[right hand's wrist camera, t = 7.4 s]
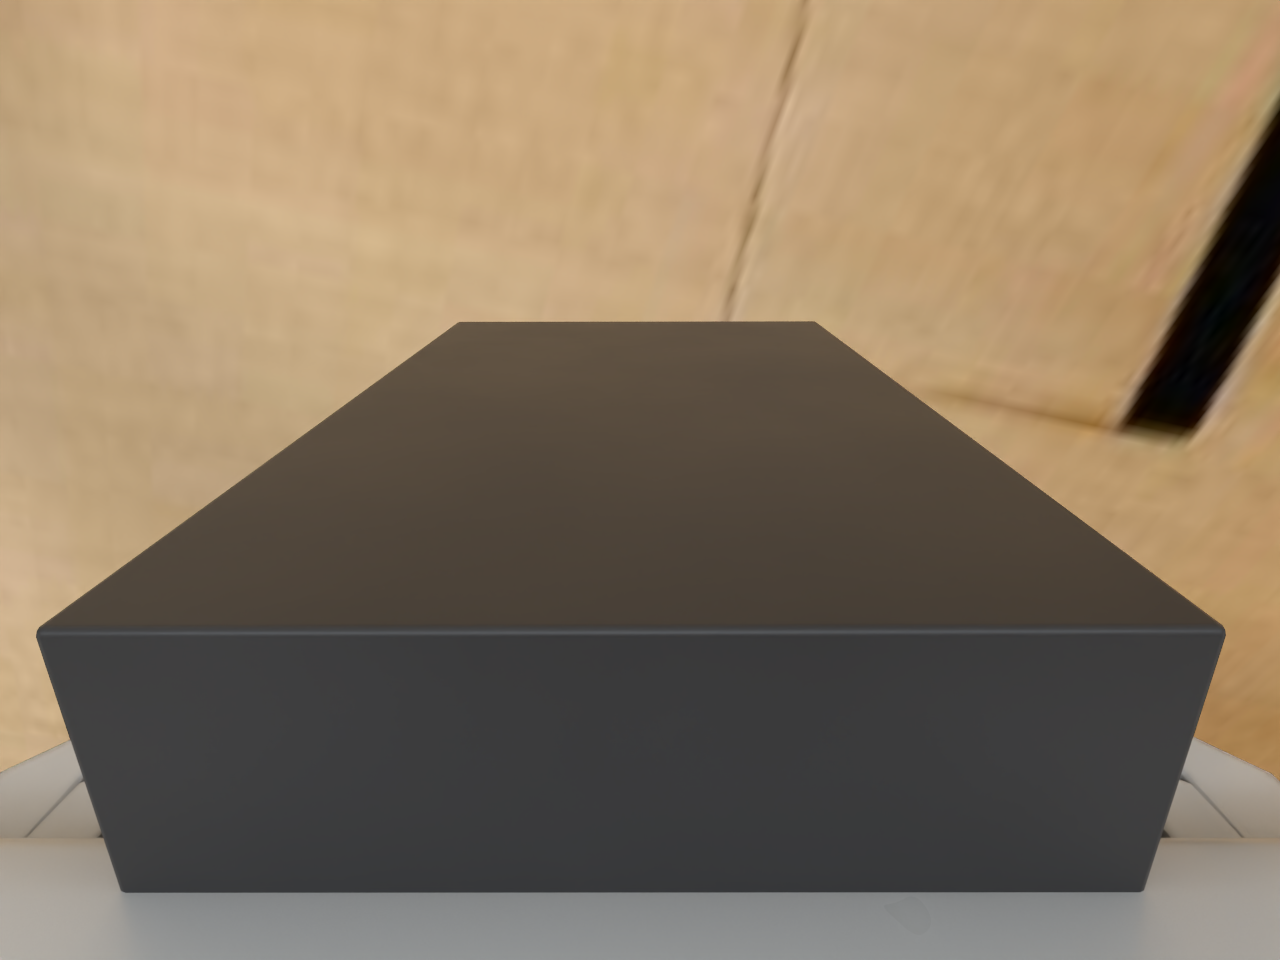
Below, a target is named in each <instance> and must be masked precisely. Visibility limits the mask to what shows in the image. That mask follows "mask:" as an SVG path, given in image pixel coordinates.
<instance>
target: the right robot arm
mask: <svg viewBox="0 0 1280 960" xmlns="http://www.w3.org/2000/svg"><path fill="white" fill-rule="evenodd" d="M0 960H1280V781H1279V780H1278V779H1277V778H1276V777H1275V776H1274V775H1272V774H1271V773H1269V772H1267V771H1265V770H1263V769H1261V768H1259V767H1256V766H1254V765H1252V764H1250V763H1248V762H1246V761H1244V760H1242V759H1239V758H1237V757H1235V756H1233V755H1231V754H1229V753H1227V752H1225V751H1223V750H1220V749H1218V748H1216V747H1214V746H1212V745H1210V744H1208V743H1206V742H1203V741H1201V740H1199V739H1197V738H1195V737H1193V739H1192V742H1191V745H1190V748H1189V751H1188V754H1187V758H1186V761H1185V764H1184V767H1183V770H1182V773H1181V776H1180V779H1179V783H1178V786H1177V789H1176V792H1175V795H1174V798H1173V801H1172V804H1171V808H1170V811H1169V814H1168V817H1167V820H1166V823H1165V826H1164V829H1163V832H1162V836H1161V839H1160V842H1159V845H1158V848H1157V851H1156V854H1155V857H1154V861H1153V864H1152V867H1151V870H1150V873H1149V876H1148V879H1147V882H1146V885H1145V889H1144V891H1141V892H755V893H125V892H122V891H121V890H120V887H119V884H118V881H117V878H116V875H115V872H114V869H113V866H112V863H111V860H110V857H109V854H108V851H107V848H106V845H105V842H104V839H103V836H102V833H101V830H100V827H99V824H98V821H97V818H96V815H95V812H94V809H93V806H92V803H91V800H90V797H89V794H88V791H87V788H86V785H85V782H84V779H83V776H82V773H81V770H80V767H79V764H78V761H77V758H76V755H75V752H74V749H73V746H72V743H71V740H69V741H66V742H64V743H62V744H60V745H58V746H56V747H54V748H51V749H49V750H47V751H45V752H43V753H41V754H39V755H36V756H34V757H32V758H30V759H28V760H26V761H23V762H21V763H19V764H17V765H15V766H13V767H11V768H8V769H6V770H4V771H2V772H0Z"/></svg>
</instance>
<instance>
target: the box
mask: <svg viewBox="0 0 1280 960" xmlns="http://www.w3.org/2000/svg"><path fill="white" fill-rule="evenodd" d="M1225 636H1226V634H1225V629H1224V627H1223V625H1221V624H1220V623H1219V622H1217V621H1216V620H1214V619H1213V618H1212V617H1210V616H1209V615H1208V614H1206V613H1205V612H1204V611H1202V610H1201V609H1200V608H1198V607H1197V606H1196V605H1194V604H1193V603H1192V602H1190V601H1189V600H1188V599H1186V598H1185V597H1184V596H1182V595H1181V594H1180V593H1178V592H1177V591H1176V590H1174V589H1173V588H1172V587H1170V586H1169V585H1168V584H1166V583H1165V582H1164V581H1162V580H1161V579H1160V578H1158V577H1157V576H1155V575H1154V574H1153V573H1151V572H1150V571H1149V570H1147V569H1146V568H1145V567H1143V566H1142V565H1141V564H1139V563H1138V562H1137V561H1135V560H1134V559H1133V558H1131V557H1130V556H1129V555H1127V554H1126V553H1125V552H1123V551H1122V550H1121V549H1119V548H1118V547H1117V546H1115V545H1114V544H1113V543H1111V542H1110V541H1109V540H1107V539H1106V538H1105V537H1103V536H1102V535H1100V534H1099V533H1098V532H1096V531H1095V530H1094V529H1092V528H1091V527H1090V526H1088V525H1087V524H1086V523H1084V522H1083V521H1082V520H1080V519H1079V518H1078V517H1076V516H1075V515H1074V514H1072V513H1071V512H1070V511H1068V510H1067V509H1066V508H1064V507H1063V506H1062V505H1060V504H1059V503H1058V502H1056V501H1055V500H1054V499H1052V498H1051V497H1050V496H1048V495H1047V494H1046V493H1044V492H1043V491H1041V490H1040V489H1039V488H1037V487H1036V486H1035V485H1033V484H1032V483H1031V482H1029V481H1028V480H1027V479H1025V478H1024V477H1023V476H1021V475H1020V474H1019V473H1017V472H1016V471H1015V470H1013V469H1012V468H1011V467H1009V466H1008V465H1007V464H1005V463H1004V462H1003V461H1001V460H1000V459H999V458H997V457H996V456H995V455H993V454H992V453H991V452H989V451H988V450H986V449H985V448H984V447H982V446H981V445H980V444H978V443H977V442H976V441H974V440H973V439H972V438H970V437H969V436H968V435H966V434H965V433H964V432H962V431H961V430H960V429H958V428H957V427H956V426H954V425H953V424H952V423H950V422H949V421H948V420H946V419H945V418H944V417H942V416H941V415H940V414H938V413H937V412H936V411H934V410H933V409H932V408H930V407H929V406H927V405H926V404H925V403H923V402H922V401H921V400H919V399H918V398H917V397H915V396H914V395H913V394H911V393H910V392H909V391H907V390H906V389H905V388H903V387H902V386H901V385H899V384H898V383H897V382H895V381H894V380H893V379H891V378H890V377H889V376H887V375H886V374H885V373H883V372H882V371H881V370H879V369H878V368H877V367H875V366H874V365H872V364H871V363H870V362H868V361H867V360H866V359H864V358H863V357H862V356H860V355H859V354H858V353H856V352H855V351H854V350H852V349H851V348H850V347H848V346H847V345H846V344H844V343H843V342H842V341H840V340H839V339H838V338H836V337H835V336H834V335H832V334H831V333H830V332H828V331H827V330H826V329H824V328H823V327H822V326H820V325H819V324H818V323H816V322H459V323H457V324H456V325H454V326H453V327H452V328H450V329H449V330H447V331H446V332H445V333H443V334H442V335H441V336H439V337H438V338H436V339H435V340H434V341H432V342H431V343H430V344H428V345H427V346H425V347H424V348H423V349H421V350H420V351H419V352H417V353H416V354H414V355H413V356H412V357H410V358H409V359H408V360H406V361H405V362H403V363H402V364H401V365H399V366H398V367H397V368H395V369H394V370H392V371H391V372H390V373H388V374H387V375H386V376H384V377H383V378H381V379H380V380H379V381H377V382H376V383H375V384H373V385H372V386H370V387H369V388H368V389H366V390H365V391H364V392H362V393H361V394H359V395H358V396H357V397H355V398H354V399H353V400H351V401H350V402H348V403H347V404H346V405H344V406H343V407H342V408H340V409H339V410H337V411H336V412H335V413H333V414H332V415H331V416H329V417H328V418H326V419H325V420H324V421H322V422H321V423H320V424H318V425H317V426H315V427H314V428H313V429H311V430H310V431H308V432H307V433H306V434H304V435H303V436H302V437H300V438H299V439H297V440H296V441H295V442H293V443H292V444H291V445H289V446H288V447H286V448H285V449H284V450H282V451H281V452H280V453H278V454H277V455H275V456H274V457H273V458H271V459H270V460H269V461H267V462H266V463H264V464H263V465H262V466H260V467H259V468H258V469H256V470H255V471H253V472H252V473H251V474H249V475H248V476H247V477H245V478H244V479H242V480H241V481H240V482H238V483H237V484H236V485H234V486H233V487H231V488H230V489H229V490H227V491H226V492H225V493H223V494H222V495H220V496H219V497H218V498H216V499H215V500H214V501H212V502H211V503H209V504H208V505H207V506H205V507H204V508H203V509H201V510H200V511H198V512H197V513H196V514H194V515H193V516H192V517H190V518H189V519H187V520H186V521H185V522H183V523H182V524H181V525H179V526H178V527H176V528H175V529H174V530H172V531H171V532H170V533H168V534H167V535H165V536H164V537H163V538H161V539H160V540H159V541H157V542H156V543H154V544H153V545H152V546H150V547H149V548H148V549H146V550H145V551H143V552H142V553H141V554H139V555H138V556H137V557H135V558H134V559H132V560H131V561H130V562H128V563H127V564H126V565H124V566H123V567H121V568H120V569H119V570H117V571H116V572H115V573H113V574H112V575H110V576H109V577H108V578H106V579H105V580H104V581H102V582H101V583H99V584H98V585H97V586H95V587H94V588H93V589H91V590H90V591H88V592H87V593H86V594H84V595H83V596H82V597H80V598H79V599H77V600H76V601H75V602H73V603H72V604H71V605H69V606H68V607H66V608H65V609H64V610H62V611H61V612H60V613H58V614H57V615H55V616H54V617H53V618H51V619H50V620H49V621H47V622H46V623H44V624H43V625H42V626H40V627H39V629H38V630H37V634H36V638H37V641H38V644H39V647H40V650H41V653H42V656H43V659H44V662H45V665H46V668H47V671H48V674H49V677H50V680H51V683H52V686H53V689H54V692H55V695H56V698H57V701H58V704H59V707H60V710H61V713H62V716H63V719H64V722H65V725H66V728H67V731H68V734H69V737H70V740H71V743H72V746H73V749H74V752H75V755H76V758H77V761H78V764H79V767H80V770H81V773H82V776H83V779H84V782H85V785H86V788H87V791H88V794H89V797H90V800H91V803H92V806H93V809H94V812H95V815H96V818H97V821H98V824H99V827H100V830H101V833H102V836H103V839H104V842H105V845H106V848H107V851H108V854H109V857H110V860H111V863H112V866H113V869H114V872H115V875H116V878H117V881H118V884H119V887H120V890H121V891H122V892H125V893H755V892H1141V891H1144V889H1145V885H1146V882H1147V879H1148V876H1149V873H1150V870H1151V867H1152V864H1153V861H1154V857H1155V854H1156V851H1157V848H1158V845H1159V842H1160V839H1161V836H1162V832H1163V829H1164V826H1165V823H1166V820H1167V817H1168V814H1169V811H1170V808H1171V804H1172V801H1173V798H1174V795H1175V792H1176V789H1177V786H1178V783H1179V779H1180V776H1181V773H1182V770H1183V767H1184V764H1185V761H1186V758H1187V754H1188V751H1189V748H1190V745H1191V742H1192V739H1193V736H1194V733H1195V730H1196V726H1197V723H1198V720H1199V717H1200V714H1201V711H1202V708H1203V705H1204V701H1205V698H1206V695H1207V692H1208V689H1209V686H1210V683H1211V680H1212V677H1213V673H1214V670H1215V667H1216V664H1217V661H1218V658H1219V655H1220V652H1221V648H1222V645H1223V642H1224V639H1225Z"/></svg>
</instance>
